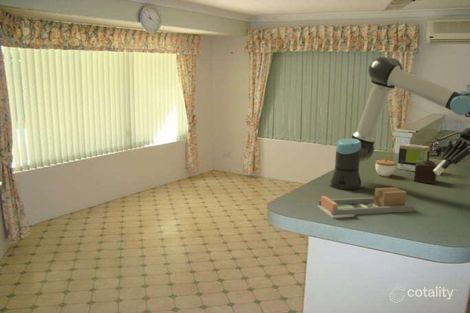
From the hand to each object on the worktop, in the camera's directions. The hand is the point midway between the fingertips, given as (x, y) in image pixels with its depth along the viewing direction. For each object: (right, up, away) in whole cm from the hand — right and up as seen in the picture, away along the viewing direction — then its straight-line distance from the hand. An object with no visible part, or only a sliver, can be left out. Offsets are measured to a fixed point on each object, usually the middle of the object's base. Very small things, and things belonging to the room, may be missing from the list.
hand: (435, 172), depth 175 cm
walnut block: (-21, -14, -2) cm, 25 cm away
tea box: (+22, -1, +75) cm, 78 cm away
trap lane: (-31, -15, -4) cm, 35 cm away
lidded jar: (-1, -4, +58) cm, 58 cm away
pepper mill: (+19, -6, +49) cm, 53 cm away
